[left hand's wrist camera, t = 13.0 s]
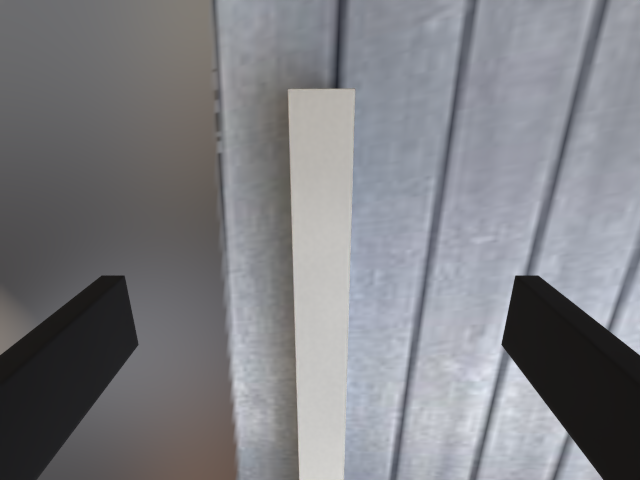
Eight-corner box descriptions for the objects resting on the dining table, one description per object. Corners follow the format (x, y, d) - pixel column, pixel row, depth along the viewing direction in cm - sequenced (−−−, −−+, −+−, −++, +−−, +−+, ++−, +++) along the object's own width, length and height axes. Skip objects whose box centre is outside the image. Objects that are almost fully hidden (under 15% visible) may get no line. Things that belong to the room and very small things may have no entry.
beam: (295, 92, 32) (287, 88, 25) (347, 92, 32) (355, 88, 25) (306, 572, 55) (304, 645, 48) (336, 572, 55) (339, 645, 48)
